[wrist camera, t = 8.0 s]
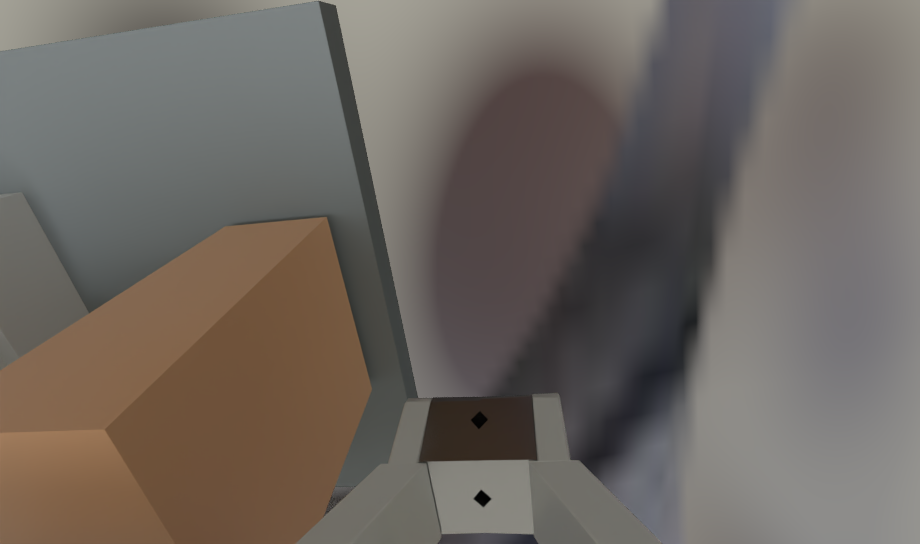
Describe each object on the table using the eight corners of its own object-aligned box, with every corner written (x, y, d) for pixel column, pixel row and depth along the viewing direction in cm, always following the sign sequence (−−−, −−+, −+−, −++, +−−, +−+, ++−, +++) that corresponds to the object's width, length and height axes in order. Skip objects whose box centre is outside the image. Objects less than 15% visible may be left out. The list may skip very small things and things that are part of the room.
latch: (372, 389, 15) (260, 681, 8) (192, 396, 16) (-50, 667, 9) (326, 216, 12) (104, 429, 5) (114, 236, 13) (-313, 443, 6)
